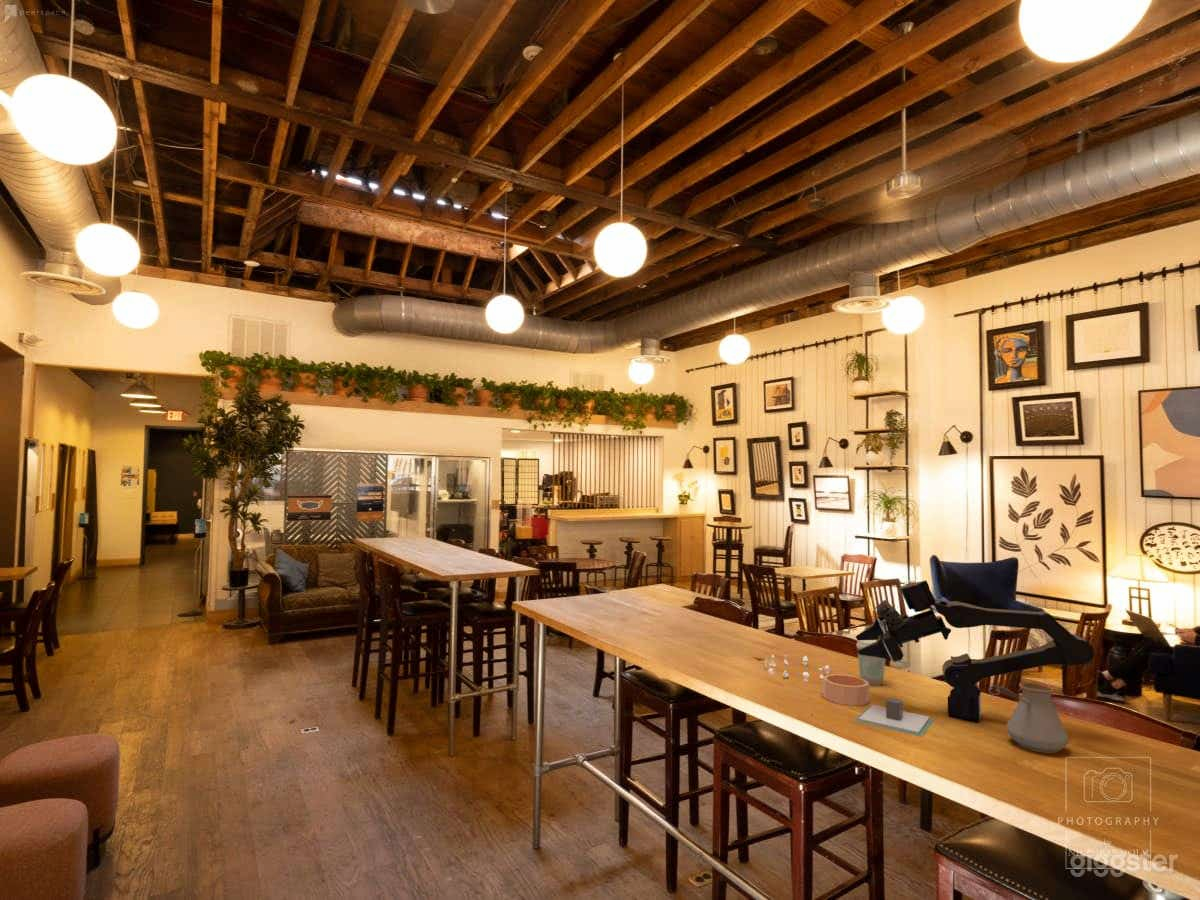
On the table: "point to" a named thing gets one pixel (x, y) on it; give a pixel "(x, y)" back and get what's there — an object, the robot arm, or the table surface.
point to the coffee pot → (1035, 719)
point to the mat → (898, 730)
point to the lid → (895, 717)
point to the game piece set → (803, 673)
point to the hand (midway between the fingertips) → (857, 645)
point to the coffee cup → (870, 665)
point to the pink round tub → (846, 689)
